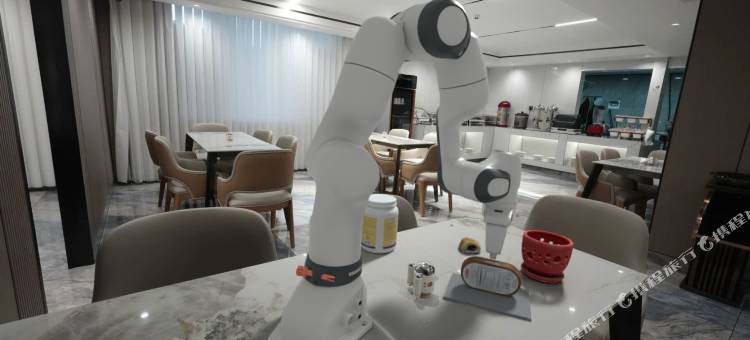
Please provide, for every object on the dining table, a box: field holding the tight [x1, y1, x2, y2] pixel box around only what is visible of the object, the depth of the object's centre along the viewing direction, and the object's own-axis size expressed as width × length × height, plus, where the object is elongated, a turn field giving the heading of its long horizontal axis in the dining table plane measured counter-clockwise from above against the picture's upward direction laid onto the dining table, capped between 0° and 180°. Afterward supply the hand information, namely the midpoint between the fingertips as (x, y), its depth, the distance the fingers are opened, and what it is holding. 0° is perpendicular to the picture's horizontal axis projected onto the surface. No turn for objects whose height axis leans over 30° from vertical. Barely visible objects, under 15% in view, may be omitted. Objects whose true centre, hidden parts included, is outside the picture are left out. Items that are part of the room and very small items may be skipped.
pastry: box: [459, 236, 482, 254], centre depth 118 cm, size 9×7×4 cm
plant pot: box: [520, 229, 575, 284], centre depth 100 cm, size 13×13×12 cm
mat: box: [443, 272, 532, 322], centre depth 88 cm, size 14×20×1 cm
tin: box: [460, 255, 523, 296], centre depth 88 cm, size 15×3×8 cm, turn 68°
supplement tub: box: [361, 193, 400, 254], centre depth 113 cm, size 12×12×17 cm
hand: (492, 257), depth 96 cm, fingers closed
